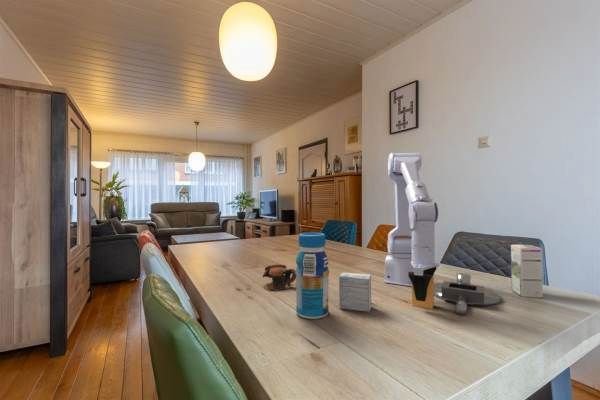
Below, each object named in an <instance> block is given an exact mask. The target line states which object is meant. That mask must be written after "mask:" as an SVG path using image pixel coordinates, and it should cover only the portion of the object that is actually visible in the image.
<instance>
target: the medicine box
mask: <svg viewBox="0 0 600 400" xmlns="http://www.w3.org/2000/svg"><path fill="white" fill-rule="evenodd" d="M338 280H339V281H338V283H339V284H338V286H339V287H338V289H339V290H338V297H339V298H338V300H339V301H338V303H339V305H338V307H339V309H340V310H350V311H360V312H365V313H369V312H371V309H372V276H371V274H369V273H367V274H366V273H356V272H342V273H341V274H340V275H339V277H338Z"/></svg>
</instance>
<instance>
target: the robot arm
mask: <svg viewBox="0 0 600 400" xmlns="http://www.w3.org/2000/svg"><path fill="white" fill-rule="evenodd" d="M422 160H423V159H422V156H421V154H420V152H418V151H417V152H405V153H404V152H401V153H399V152H398V153H397V152H396V153H395V152H390V154H388V159H387V175H388V179H390V180H392V181H393V184H394V201H395V202H394V204H395V210H394V211H395V227H394V228H393V229H391V230H390V231H389V232H388V234H387V242H386V243H387V246H386V247H387V253H388V254H389V255H386V257H385V261H384V283H386V284H394V285H400V286H406V287H412V285H413V288H414V293H415V297H416V300H418V301H424V302H425V300H426V296H427V289H428V285H429V282H430V280H431V278H432V276H431V275H433V276H434V274H435V272H436V271H437V268H439V267H440V263H439V262H436V261H435V260H436V259H435V258H436V256H435V249H436V248H435V233H436V231H435V230H436V229H435V223H437V221H438V218H439V208H438V203H437V201H436V200H434V198H431V197H430V195H429V191H428V188H427V186H426V184H425V183H424V182H422V181H421V179H420V174H419V172H420V170H421V168H422Z"/></svg>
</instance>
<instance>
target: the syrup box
mask: <svg viewBox="0 0 600 400" xmlns="http://www.w3.org/2000/svg"><path fill="white" fill-rule="evenodd" d="M510 257H511V261H510V263H511V264H510V265H511V266H510V267H511V268H510V269H511V271H510V273H511V291H512V292H513V293H515V294H517V295H519V296H520V297H524V298H537V299H538V298H540V299H542V298H544V291H543V290H544V289H543V288H544V286H543V284H544V283H543V282H544V281H543V247H538V246H535V245H531V244H511V245H510Z"/></svg>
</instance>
